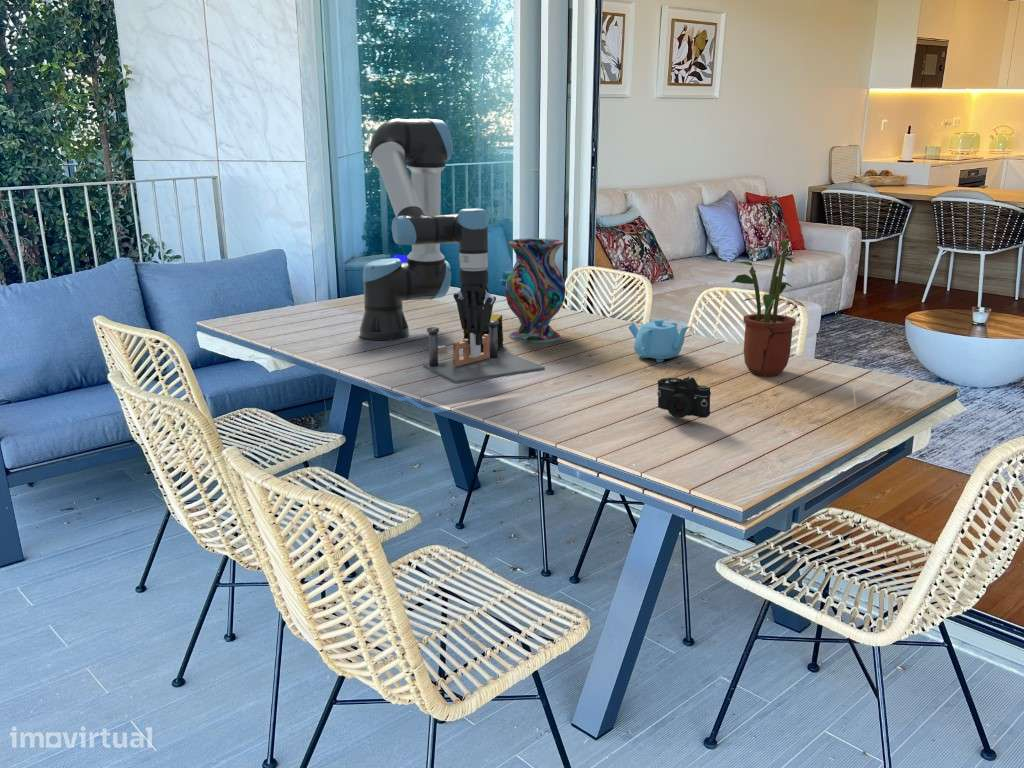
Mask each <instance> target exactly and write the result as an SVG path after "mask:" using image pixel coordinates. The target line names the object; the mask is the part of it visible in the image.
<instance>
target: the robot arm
mask: <svg viewBox="0 0 1024 768" xmlns="http://www.w3.org/2000/svg"><path fill="white" fill-rule="evenodd" d="M370 140H371V141H370V144H369V153H370V154H369V155H370V157H371V161H372V163H373V165H374V167H376V168H377V169H378V170H379V173H380V177H381V178H382V181H383V184H384V187H385V191H386V192H387V197H388V198H389V201H390V204H391V207H392V211H393V213H394V215H395V217H393V219H392V221H391V233H392V239H393V241H394V243H395V244H396V245H400V246H401V245H402V246H411V251H410V252H409V253H408V254H407V255H406V256H407V263H402V262H401V260H400V259H398V258H392V257H390V258H381V259H377V260H376V259H375V260H373V261H370V262H368V263H366V264H365V265H364V266H363V268H362V269H363V271H362V274H363V275H362V281H363V282H362V283H363V301H364V313H363V315H362V320H361V324H360V327H359V336H360V337H361V338H362V339H366V340H370V341H371V340H373V341H390V340H400V339H404V338H407V337H408V336H409V335H410V328H409V327H410V326H409V325H408V321H407V319H406V316H405V313H404V311H403V308H404V307H403V302H404V301H405V302H406V301H420V300H421V301H422V300H429V301H431V300H434V299H441V298H444V297H445V296H446V295H447V294H448V292H449V291H450V290H449V289H450V287H451V282H452V281H451V280H452V271H451V265H450V263H449V262H448V261H447V260H446V259H445V257H446V256H445V255H444V254H443V253H442V252H441V250H440V249H441V244H458V254H459V258H458V259H459V268H460V270H459V284H461V287H460V289H459V291H458V292H457V293H453V298H454V301H455V302H456V306H457V311H458V317H459V320H460V324H461V325H460V327H461V329H462V330H463V331H464V329H465V330H467V332H468V342H469V344H470V356H471V357H474V358H475V357H478V356H481V345H482V333H483V332H484V331H487V330H488V329H489V324H490V319H491V314H493V307H494V304H495V302H496V301H497V297H496V296H495V295H494V296H492V295H491V294H490V293H489V292H490V291H489V289H488V284H489V270H488V269H487V268H488V267H489V251H488V250H489V245H488V244H489V243H488V242H489V239H488V237H489V235H488V233H489V231H488V228H489V227H488V226H489V221H488V212H487V211H486V209H483V208H462V209H460V210H459V211H458V213H451V214H441V173H442V172H443V171H444V169H445V168H446V162H448V161H450V160H451V159H452V157H453V152H454V151H453V149H454V148H453V139H452V135H451V131H450V128H449V126H448V125H447V123H446V122H445V121H443V120H441V119H432V118H419V119H418V118H415V119H414V118H409V119H405V118H404V119H403V118H392V119H389V120H387V121H386V122H384V123H382V124H381V125H380V126H379V127H378V128H377V129H376V130H375V131H374V133H373V135H372V137H371V139H370ZM410 172H411V175H410Z"/></svg>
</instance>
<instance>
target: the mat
mask: <svg viewBox="0 0 1024 768" xmlns="http://www.w3.org/2000/svg"><path fill="white" fill-rule="evenodd" d="M422 367H423V368H425V369H427V370H429V371H431V372H433V373H435V374H437V375H439V376H441V377H442V378H444V379H447V380H449V381H451V382H452V383H455V384H456V383H463V382H464V383H465V382H470V381H477V380H478V381H479V380H483V379H490V378H495V377H496V378H498V377H502V376H511V375H515V374H517V375H518V374H524V373H529V372H535V371H542V370H545V369H546V367H545V366H543V365H541V364H538V363H535V362H532V361H531V360H528V359H525V358H524V357H522V356H521V357H520V356H519V355H517V354H514V353H511V352H504V353H498V357H497V358H487V359H483V360H479V361H475V362H472V363H468V364H464V365H460V366H453V359H452V360H447V361H440V362H439V361H438V366H436V367H431V366H429V363H425V364H424V363H423V364H422Z"/></svg>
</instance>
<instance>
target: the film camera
mask: <svg viewBox="0 0 1024 768" xmlns="http://www.w3.org/2000/svg"><path fill="white" fill-rule="evenodd" d="M711 394H712V393H711V387H709V386H707V385H703V384H702V385H699V384H698V383H697V381H696V379H695V377H693V376H691V377H690V376H689V375H688V376H686V377H684V378H679V377H669V378H668V377H665V378H664V377H663V378H660V379H659V380H658V381H657V391H656V395H657V398H658V399H657V407H658V408H659V409H661V410H665V411H667V412H668V413H669V415H671V417H674V418H675V419H683V418H685V417H688V416H689V417H690V416H693V417H697V418H701V419H704V418H705V419H707V418H708V417H710V415H711Z"/></svg>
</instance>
